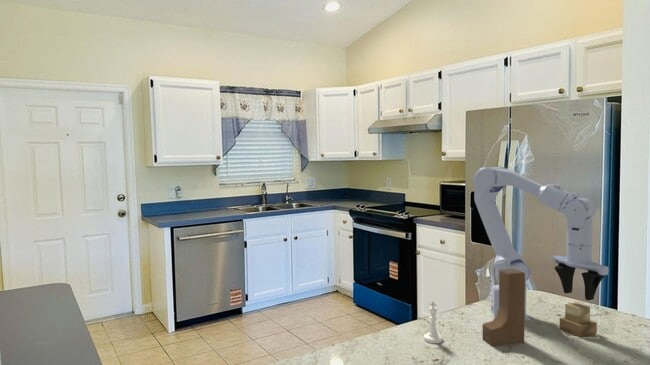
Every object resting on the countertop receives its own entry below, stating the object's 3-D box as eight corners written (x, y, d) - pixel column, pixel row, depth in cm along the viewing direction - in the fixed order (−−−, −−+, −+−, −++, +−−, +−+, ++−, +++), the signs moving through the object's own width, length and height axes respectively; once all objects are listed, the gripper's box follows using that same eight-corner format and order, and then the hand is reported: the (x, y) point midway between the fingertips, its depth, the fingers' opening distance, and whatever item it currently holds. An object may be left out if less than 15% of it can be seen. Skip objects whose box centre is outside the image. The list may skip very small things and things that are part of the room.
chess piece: (430, 334, 117) (430, 296, 117) (446, 339, 114) (446, 300, 113) (419, 339, 114) (419, 301, 113) (436, 345, 110) (436, 305, 110)
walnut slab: (579, 337, 113) (580, 325, 112) (559, 329, 118) (559, 318, 118) (596, 333, 115) (596, 322, 115) (575, 325, 120) (575, 314, 120)
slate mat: (541, 341, 112) (541, 339, 112) (530, 325, 123) (530, 323, 123) (607, 345, 109) (608, 343, 109) (590, 328, 120) (590, 326, 119)
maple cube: (578, 324, 114) (579, 308, 113) (565, 319, 117) (565, 304, 117) (589, 321, 115) (590, 306, 115) (576, 316, 119) (576, 302, 119)
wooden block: (491, 348, 108) (492, 274, 107) (481, 340, 113) (482, 270, 112) (524, 344, 110) (525, 272, 109) (513, 337, 114) (514, 268, 113)
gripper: (544, 240, 120) (543, 290, 121) (594, 250, 107) (593, 306, 108) (563, 238, 123) (562, 287, 124) (614, 248, 110) (613, 302, 110)
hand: (578, 296), depth 116 cm, fingers open, 6 cm apart
